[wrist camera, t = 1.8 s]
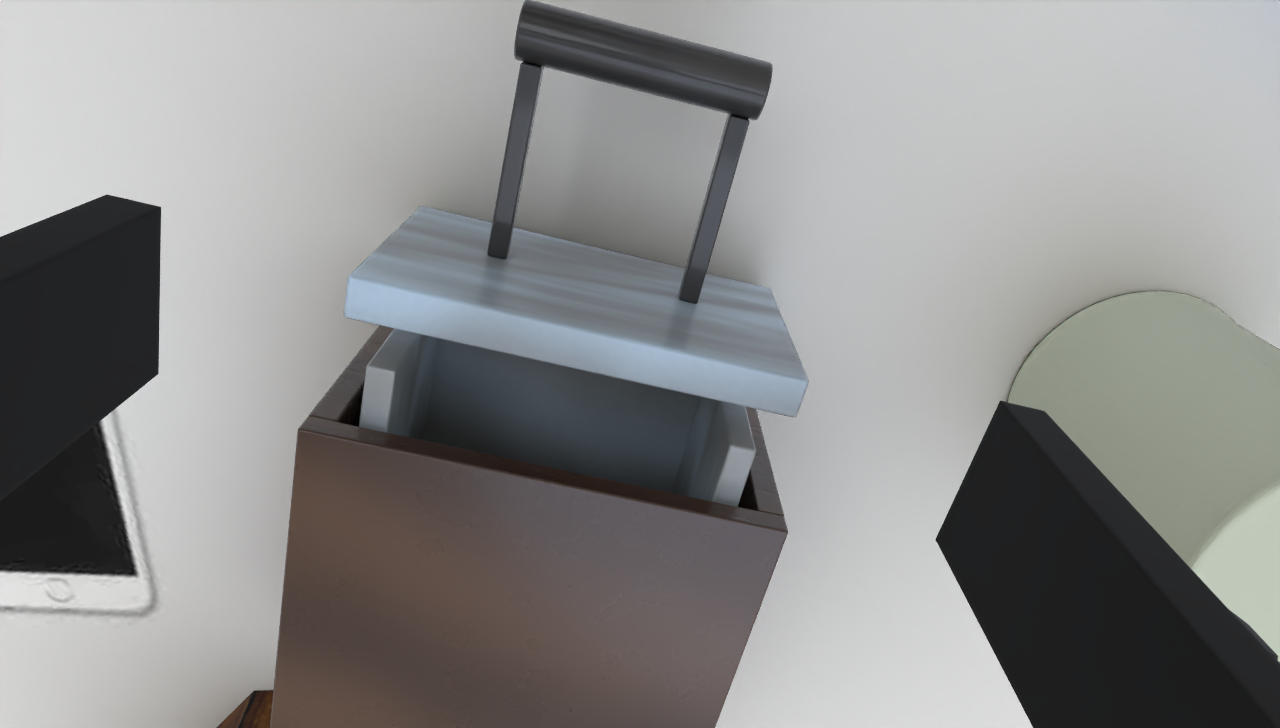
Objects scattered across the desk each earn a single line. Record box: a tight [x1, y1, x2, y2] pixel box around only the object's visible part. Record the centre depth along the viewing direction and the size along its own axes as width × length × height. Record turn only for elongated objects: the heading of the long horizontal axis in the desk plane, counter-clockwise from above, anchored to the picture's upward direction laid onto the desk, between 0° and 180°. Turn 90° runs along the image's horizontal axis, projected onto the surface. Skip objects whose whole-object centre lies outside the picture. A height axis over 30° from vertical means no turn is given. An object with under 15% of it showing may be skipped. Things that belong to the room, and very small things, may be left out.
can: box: [1008, 291, 1280, 662], centre depth 27 cm, size 9×9×12 cm
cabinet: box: [270, 325, 788, 728], centre depth 31 cm, size 16×14×10 cm
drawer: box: [344, 0, 809, 507], centre depth 27 cm, size 22×12×8 cm, turn 166°
